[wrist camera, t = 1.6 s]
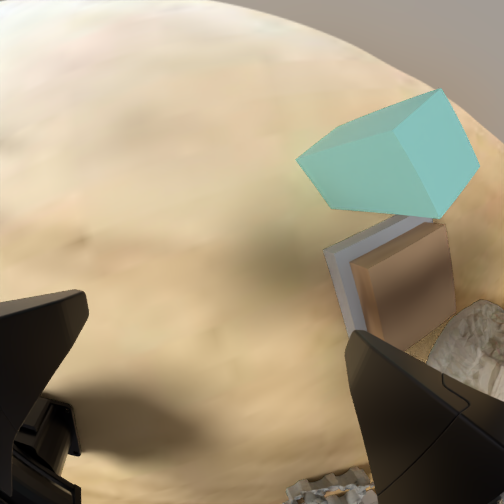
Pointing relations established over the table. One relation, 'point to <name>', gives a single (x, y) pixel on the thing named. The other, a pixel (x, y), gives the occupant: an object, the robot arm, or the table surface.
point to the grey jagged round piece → (473, 348)
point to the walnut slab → (406, 285)
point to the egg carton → (331, 488)
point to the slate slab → (355, 248)
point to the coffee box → (369, 498)
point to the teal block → (395, 160)
